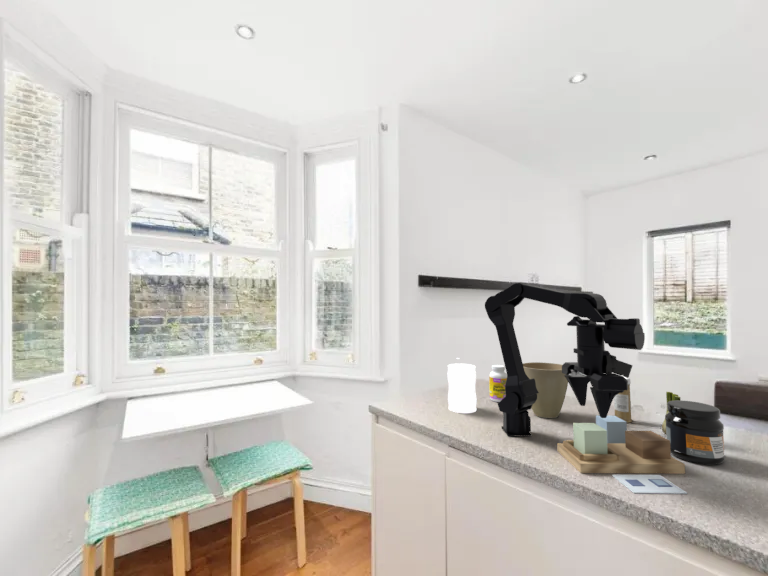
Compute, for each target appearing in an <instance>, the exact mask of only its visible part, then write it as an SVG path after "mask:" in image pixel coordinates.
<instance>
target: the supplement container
mask: <svg viewBox="0 0 768 576" xmlns="http://www.w3.org/2000/svg"><path fill="white" fill-rule="evenodd" d="M667 410H668V411H669V412H668V413H667V414H666V413H665V415H664V420H666V435H665V436H666V437H665V438H666V439H668V440H670V451H671V455H673V456H674V457H675V458H679V459H681V460H683V461H686V462H690V463H694V464H699V465H705V466H706V465H707V466H716V465H720V464H722V463H724V462H725V459H726V455H725V444H724V442H725V441H724V440H725V439H724V429H725V426H724V423H722V421H721V420H720V419H721V410H720V409H719V408H718V407H716V406H714V405H711V404H707V403H703V402H698V401H697V402H696V401H691V400H683V399H682V400H681V399H680V400H674V401H669V402H667V401H666V411H667Z"/></svg>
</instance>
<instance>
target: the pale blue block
mask: <svg viewBox="0 0 768 576" xmlns="http://www.w3.org/2000/svg"><path fill="white" fill-rule="evenodd" d="M595 424H597V425H598V426H600V427H602V428H603V429H605V430H607V443H625V431H628V430H627V429H628V425H627V424H628V423H627V422H626V421H624V420H622V419H620V418H618V417H616V416H615V415H607V417H606V418H601V417H600V415H595Z"/></svg>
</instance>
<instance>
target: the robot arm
mask: <svg viewBox="0 0 768 576" xmlns="http://www.w3.org/2000/svg"><path fill="white" fill-rule="evenodd" d="M524 299H527V300H531V301H536V302H541V303H545V304H548V305H552V306H557V307H559V308H561V309H563V310H564V311H567V312H568V313H570V314H573V315H575V316H573V318H572V319H571V320H569V321H568V322H567V323H566V326H568V327H575V328H576V329H575V331H576V347H575V348H573V353H574V354H576V356H577V357H576V359H577V362H574V361H569V362H563V364H562V373H564V374H566V375H564V376H565V377H566V379H567V381H568V384H569V386H570V388H571V390H572V391H573V394H574V395H575V398H576V399H577V401H578V403H579V406H581V407H586V402H587V394H588V384H590V385H591V386H590V387H589V389H590V393H591V394H592V397H593V400H594V403H595V407H596V409H597V411H598V412H597V413H598V414H599V415H598V416H600V417H601V418H606V417H607V416H608V414H609V410H610V408H611V405H612V403H613V402H614V397H615V396H616V395H617V394H619V393H623V392H624V390H628V381H627V380H626V379H625V378H624V377H627V378H630V375H631V371H632V368H633V364H629V363H628V362H627V363H626V362H624V361H621V360H619V359H617V356H616V355H613V354H611V352H609V351H608V350H606V349H605V344H607V345H608V346H609V347H610V348H613V349H614V348H615V349H625V350H637V351H641V350H642V349H643V348H644V345H645V339H646V338H645V337H646V336H645V334H646V333H645V332H644V329H643V327H642V325H641V321H640V320H641V319H640V318H634V317H633V318H618V317H617V316H616V315H615V314H614V313H613V312H612V310H611V309H610V308H609V307H608V306H607V305H608V304H607V300H606V299H605V298H604V296H603V295H601V294H599V293H591V292H588V293H587V292H567V291H562V290H556V289H552V288H547V287H542V286H538V285H534V284H529V283H527V282H515V283H513V284H511V285H510V286H508V288H506V289H504V290H501V291H500V292H498V293H496V294H495V295H491V296H489V297H488V298H487V299H486V301H485V302H484V309H485V312H486V313H487V317H488V319H489V321H491V323H492V324H493V325H494V326H495V329H496V333H497V337H498V341H499V346H500V350H501V354H502V358H503V362H504V366H505V373H506V374H507V380H506V384H505V394H506V397H504V398H503V399H502V400H501V401H500V402H497V407H498V410H499V412H502V426H501V429H502V431H503V432H504V433H505V435H507V436H508V437H531V436H532V433H531V431H532V430H531V429H532V427H531V426H532V425H531V417H530V415H529V410H532V405H533V404H534V403H535V402H536V400H537V393H539V392H538V390H537V388H536V383H535V379H534V378H533V379H529V378H528V376H527V375H526V374H525V371H524V367H523V359H522V355H521V352H520V348H519V343H518V340H517V335H516V331H515V326H514V321H515V317H516V307H517V306H518V305H520V304H521V303H522V302H523V301H524ZM583 318H585V319H583ZM586 318H587V319H586ZM601 323H604V324H601ZM623 376H624V377H623Z"/></svg>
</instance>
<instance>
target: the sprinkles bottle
mask: <svg viewBox="0 0 768 576" xmlns="http://www.w3.org/2000/svg"><path fill="white" fill-rule="evenodd" d="M622 376H623V375H622ZM623 377H624V376H623ZM624 378H625V379H626V380H627V381H628V390H624V392H623V393H619V394H617V395H616V396H615V397H614V399H613V409H614V416H616V417H618V418H620V419H622V420H624V421H626V422H627V424H628V423H632V422H633V420H632V401H631V387H630V386H631V377H629V378H627V377H624Z"/></svg>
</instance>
